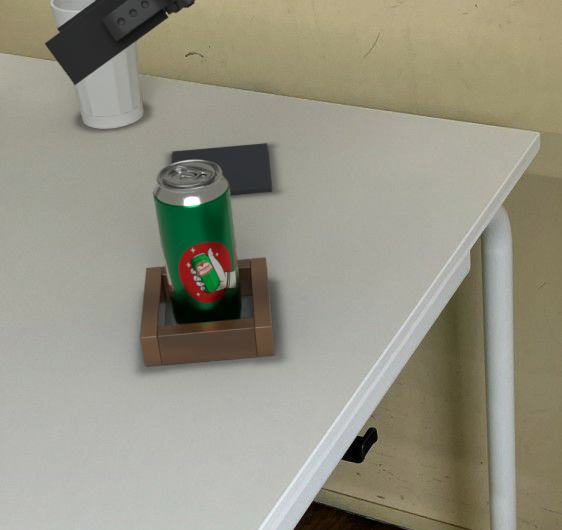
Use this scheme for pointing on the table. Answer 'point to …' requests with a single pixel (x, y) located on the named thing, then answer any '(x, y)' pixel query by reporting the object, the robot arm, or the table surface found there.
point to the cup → (106, 80)
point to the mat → (236, 165)
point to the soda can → (198, 242)
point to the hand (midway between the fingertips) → (64, 54)
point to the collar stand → (206, 323)
